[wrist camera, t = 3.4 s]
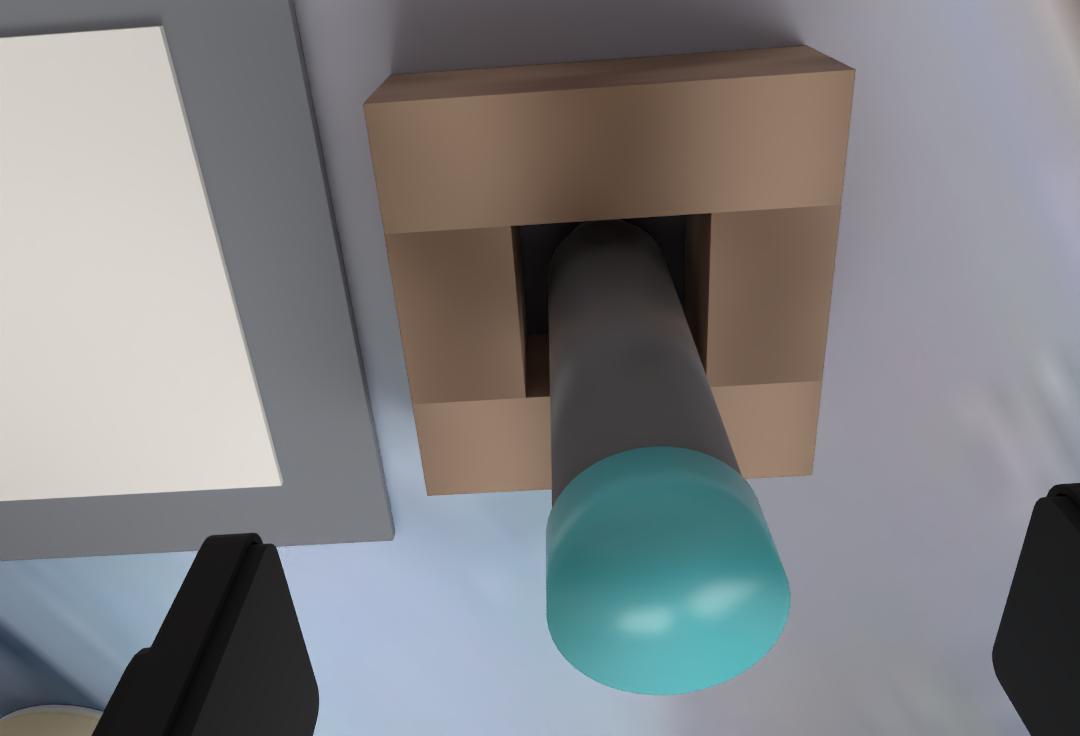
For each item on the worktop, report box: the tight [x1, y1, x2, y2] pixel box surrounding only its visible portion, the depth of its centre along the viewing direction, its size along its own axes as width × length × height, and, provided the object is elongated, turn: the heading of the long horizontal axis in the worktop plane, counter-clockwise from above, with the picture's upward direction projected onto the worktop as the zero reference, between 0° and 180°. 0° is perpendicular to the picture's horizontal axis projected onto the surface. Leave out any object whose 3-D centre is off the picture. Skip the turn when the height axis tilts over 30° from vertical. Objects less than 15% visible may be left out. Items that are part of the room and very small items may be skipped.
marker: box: [546, 219, 790, 695], centre depth 17 cm, size 3×3×13 cm
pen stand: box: [363, 46, 856, 496], centre depth 21 cm, size 10×10×4 cm
